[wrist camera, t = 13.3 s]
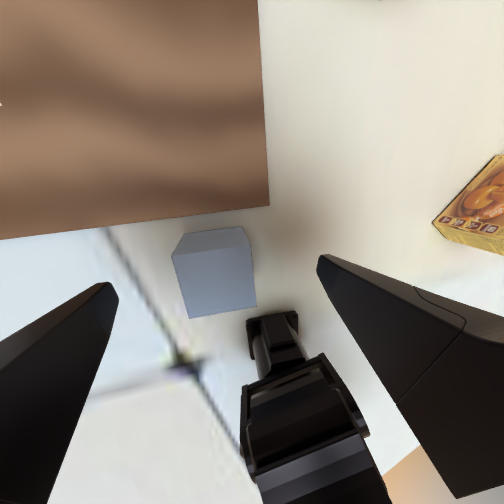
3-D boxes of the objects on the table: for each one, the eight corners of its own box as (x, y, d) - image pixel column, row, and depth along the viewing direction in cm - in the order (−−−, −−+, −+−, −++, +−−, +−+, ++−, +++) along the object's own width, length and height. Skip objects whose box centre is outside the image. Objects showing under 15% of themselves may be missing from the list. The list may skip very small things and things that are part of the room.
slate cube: (247, 274, 21) (256, 306, 16) (196, 282, 20) (189, 318, 15) (241, 225, 18) (250, 244, 13) (184, 233, 18) (171, 256, 13)
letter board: (268, 204, 18) (269, 205, 17) (-19, 240, 15) (-28, 243, 15) (250, -83, 11) (251, -97, 11) (-264, -107, 9) (-298, -126, 8)
